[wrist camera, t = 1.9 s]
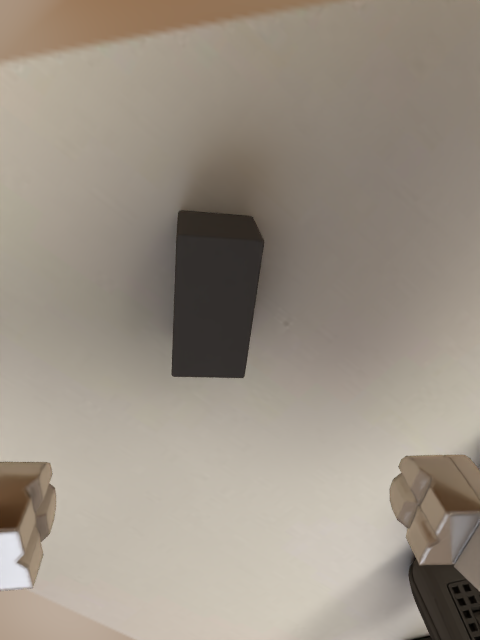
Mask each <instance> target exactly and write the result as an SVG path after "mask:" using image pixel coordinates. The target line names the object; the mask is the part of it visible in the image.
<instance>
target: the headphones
mask: <svg viewBox="0 0 480 640" xmlns="http://www.w3.org/2000/svg"><path fill="white" fill-rule="evenodd" d="M454 565H455V564H452V565H419V563H418V561H417V559H416V560H415V561H414V563H413V564H412V565H411V566H410V569H409V581H410V586H411V590H412V594H413V596H414V599H415V602H416V604H417V607H418V609H419V611H420V614H421V616H422V618H423V620H424V623H425V625H426V627H427V629H428V632H429V634H430V636H431V637H428V638H423V639H419V640H480V591H479V590H478V589H476V588H475V587H474V586H473V585H472V584H471V583H470V582H469V581H468V580H467V579H466V578H465V577H464V576H463V575H462V574H461V573H460V572H459V571H458V570H457V569H456V568H455V567H454Z"/></svg>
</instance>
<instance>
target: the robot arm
mask: <svg viewBox="0 0 480 640" xmlns="http://www.w3.org/2000/svg"><path fill="white" fill-rule="evenodd" d="M398 467H399V469H400V471H401V474H399V475H398V476H397V477H395V478H394V479H393V481H392V484H391V486H390V503H391V506H392V510H393V512H394V514H395V516H396V518H397V520H398V521H399V522H401V523H402V524H403V525H404V526H405V527H407V533H406V539H407V541H408V543H409V545H410V547H411V549H412V551H413V553H414V555H415V557H416V559H417V561H418V563H419V565H452V564H455V565H454V567H455V568H456V569H457V570H458V571H459V572H460V573H461V574H462V575H463V576H464V577H465V578H466V579H467V580H468V581H469V582H470V583H471V584H472V585H473V586H474V587H475V588H476V589H478V590H479V591H480V471H479V469H478V468H477V467H476V465H475V464H474V463H473V461H472V460H471V459H470V458H469V457H467V456H466V455H419V456H405V457H404V458H403V459H401V462H400V464H399V466H398ZM51 477H52V469H51V465H50V463H48V462H0V591H7V590H19V589H31V588H33V586H34V583H35V580H36V577H37V574H38V570H39V567H40V564H41V561H42V558H43V550H42V545H41V542H42V541H43V540H44V539H45V538H46V537H47V536H48V535H49V534H50V532H51V528H52V525H53V521H54V516H55V510H56V491H55V487H53V486H52V485H51V484H50V483H49V482H50V480H51Z"/></svg>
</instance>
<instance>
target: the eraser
mask: <svg viewBox="0 0 480 640" xmlns="http://www.w3.org/2000/svg"><path fill="white" fill-rule="evenodd" d="M263 247H264V240H263V238H262V236H261V234H260V232H259V229H258V227H257V225H256V223H255V221H254V219H253V217H251V216H242V215H229V214H217V213H205V212H193V211H179V212H178V224H177V238H176V266H175V294H174V322H173V349H172V376H174V377H219V378H244V376H245V369H246V362H247V356H248V349H249V342H250V335H251V328H252V322H253V315H254V308H255V301H256V294H257V288H258V281H259V274H260V267H261V260H262V253H263Z"/></svg>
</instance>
